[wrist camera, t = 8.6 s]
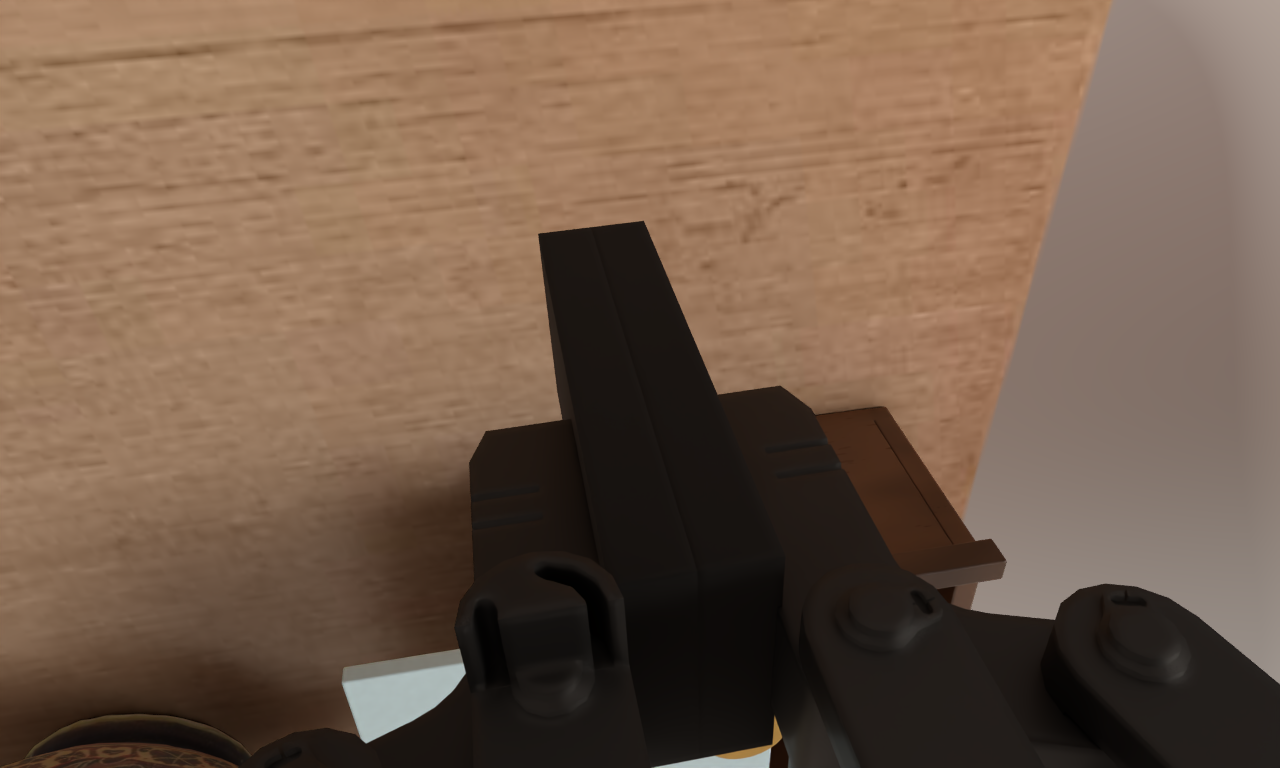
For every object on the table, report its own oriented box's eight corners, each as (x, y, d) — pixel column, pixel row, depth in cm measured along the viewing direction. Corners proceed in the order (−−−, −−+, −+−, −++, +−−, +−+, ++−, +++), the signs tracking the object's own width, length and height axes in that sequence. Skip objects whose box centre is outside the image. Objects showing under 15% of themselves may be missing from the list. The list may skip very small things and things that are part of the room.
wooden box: (888, 388, 35) (1008, 560, 27) (843, 666, 44) (922, 848, 37) (546, 433, 33) (577, 629, 26) (576, 712, 43) (604, 912, 35)
